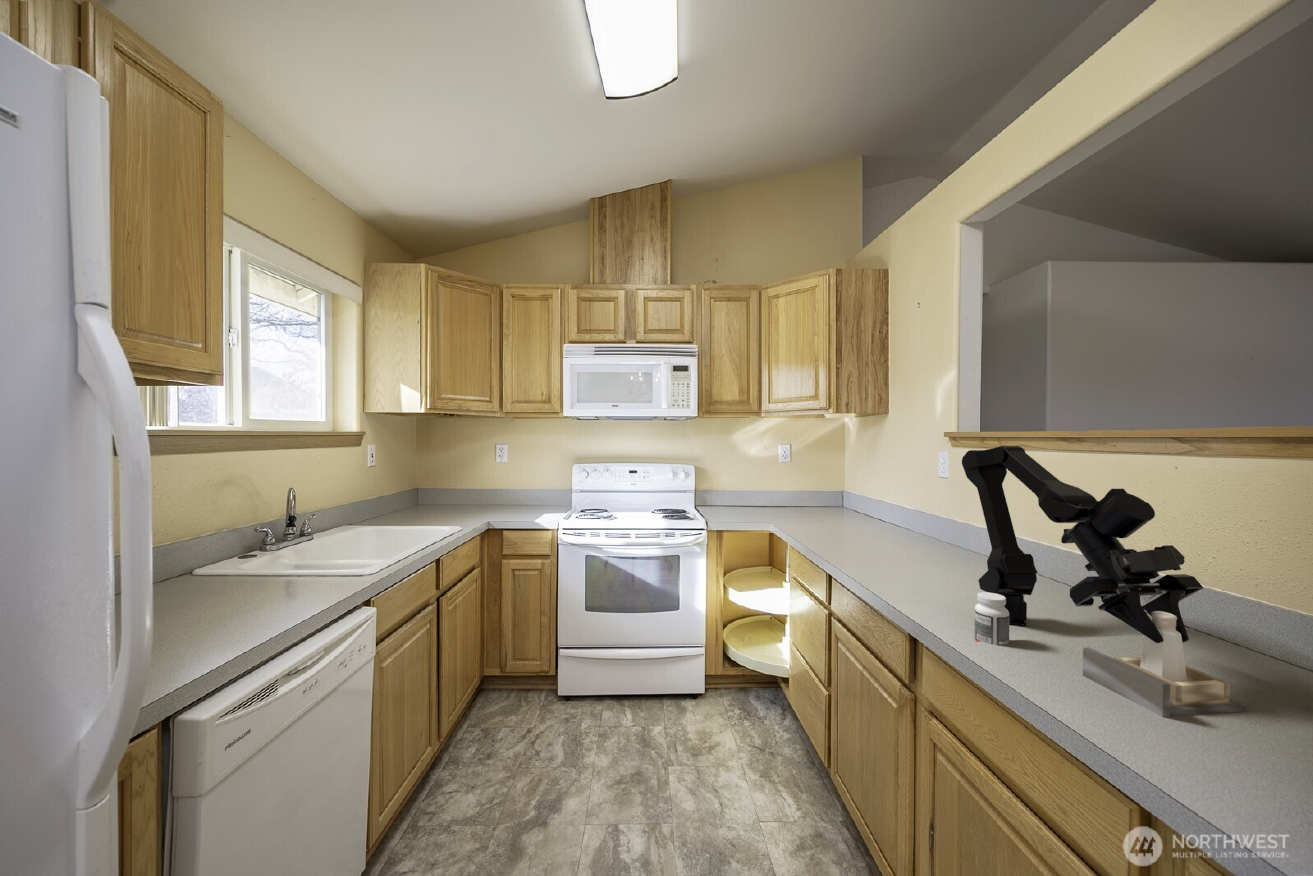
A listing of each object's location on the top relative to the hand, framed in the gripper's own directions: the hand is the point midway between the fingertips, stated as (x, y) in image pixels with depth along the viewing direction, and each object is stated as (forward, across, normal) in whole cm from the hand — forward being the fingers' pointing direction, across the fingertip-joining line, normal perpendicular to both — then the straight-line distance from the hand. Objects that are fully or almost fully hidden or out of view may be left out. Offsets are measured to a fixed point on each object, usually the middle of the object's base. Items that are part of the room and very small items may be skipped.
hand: (1173, 641), depth 76 cm
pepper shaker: (+4, 0, +6) cm, 7 cm away
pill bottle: (-8, -12, +23) cm, 27 cm away
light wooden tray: (+5, +1, +7) cm, 9 cm away
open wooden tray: (+5, -1, +9) cm, 10 cm away
